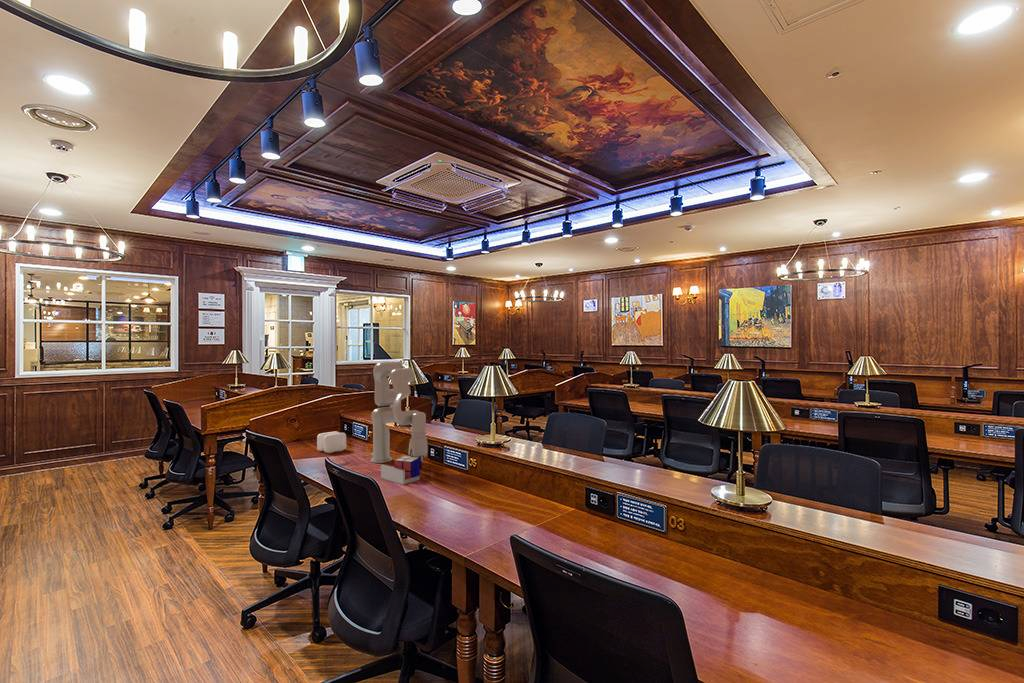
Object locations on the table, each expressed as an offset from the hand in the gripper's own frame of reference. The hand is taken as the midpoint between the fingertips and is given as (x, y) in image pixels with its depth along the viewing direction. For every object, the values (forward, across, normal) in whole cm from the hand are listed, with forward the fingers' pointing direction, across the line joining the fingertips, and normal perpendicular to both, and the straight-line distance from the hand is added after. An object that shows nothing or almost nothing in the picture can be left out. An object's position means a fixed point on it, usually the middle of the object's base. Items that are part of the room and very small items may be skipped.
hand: (418, 468), depth 253 cm
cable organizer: (+3, +2, -83) cm, 83 cm away
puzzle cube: (+3, +8, +1) cm, 9 cm away
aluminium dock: (+3, +12, 0) cm, 12 cm away
